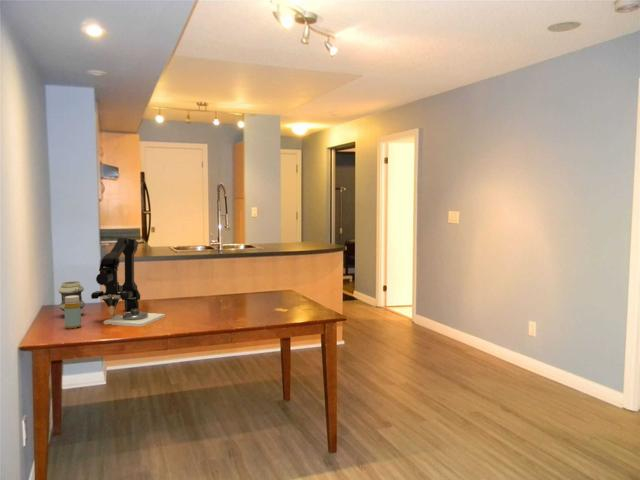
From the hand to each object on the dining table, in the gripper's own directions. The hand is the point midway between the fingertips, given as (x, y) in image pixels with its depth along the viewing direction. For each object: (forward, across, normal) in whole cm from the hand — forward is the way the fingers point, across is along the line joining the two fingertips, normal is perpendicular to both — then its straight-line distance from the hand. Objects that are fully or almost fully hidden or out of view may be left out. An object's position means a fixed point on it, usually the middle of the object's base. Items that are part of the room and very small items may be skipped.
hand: (112, 311), depth 250 cm
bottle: (+5, +14, +12) cm, 19 cm away
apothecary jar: (+5, +26, -11) cm, 29 cm away
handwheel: (+3, -8, -1) cm, 8 cm away
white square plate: (+5, -10, -2) cm, 12 cm away
